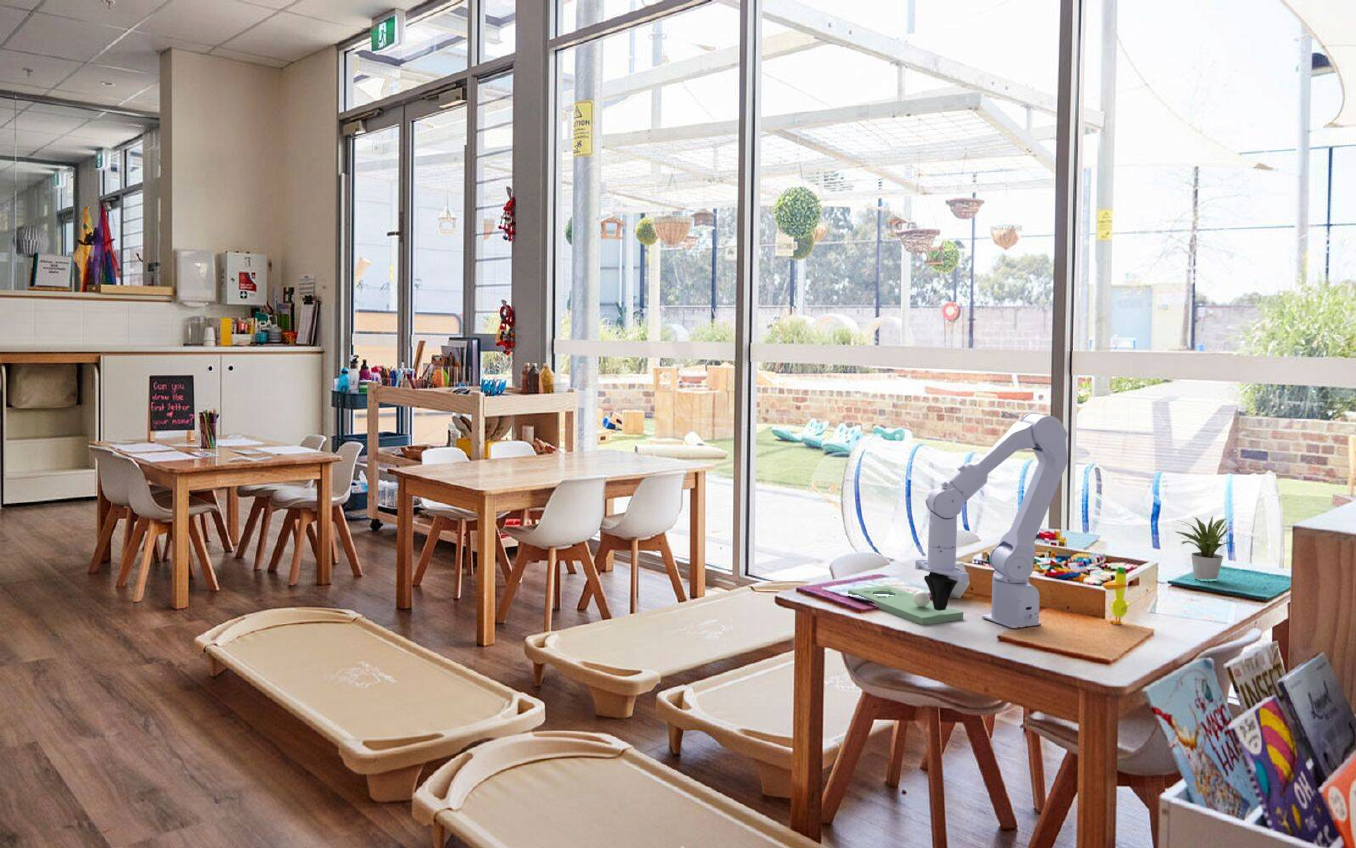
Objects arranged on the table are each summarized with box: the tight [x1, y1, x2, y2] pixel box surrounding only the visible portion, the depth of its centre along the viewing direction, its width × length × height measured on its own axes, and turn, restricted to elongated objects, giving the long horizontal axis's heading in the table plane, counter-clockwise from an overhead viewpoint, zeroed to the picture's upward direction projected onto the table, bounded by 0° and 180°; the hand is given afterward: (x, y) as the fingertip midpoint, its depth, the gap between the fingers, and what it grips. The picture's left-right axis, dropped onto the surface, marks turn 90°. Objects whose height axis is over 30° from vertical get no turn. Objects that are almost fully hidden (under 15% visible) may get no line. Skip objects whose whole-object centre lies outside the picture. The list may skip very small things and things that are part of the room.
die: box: [949, 561, 971, 599], centre depth 248 cm, size 8×9×10 cm
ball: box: [913, 590, 931, 607], centre depth 232 cm, size 4×4×4 cm
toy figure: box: [1101, 566, 1130, 625], centre depth 226 cm, size 7×4×12 cm, turn 106°
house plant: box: [1176, 515, 1236, 580], centre depth 269 cm, size 14×14×16 cm
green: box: [847, 585, 964, 626], centre depth 238 cm, size 26×11×2 cm, turn 27°
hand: (940, 609), depth 227 cm, fingers closed
